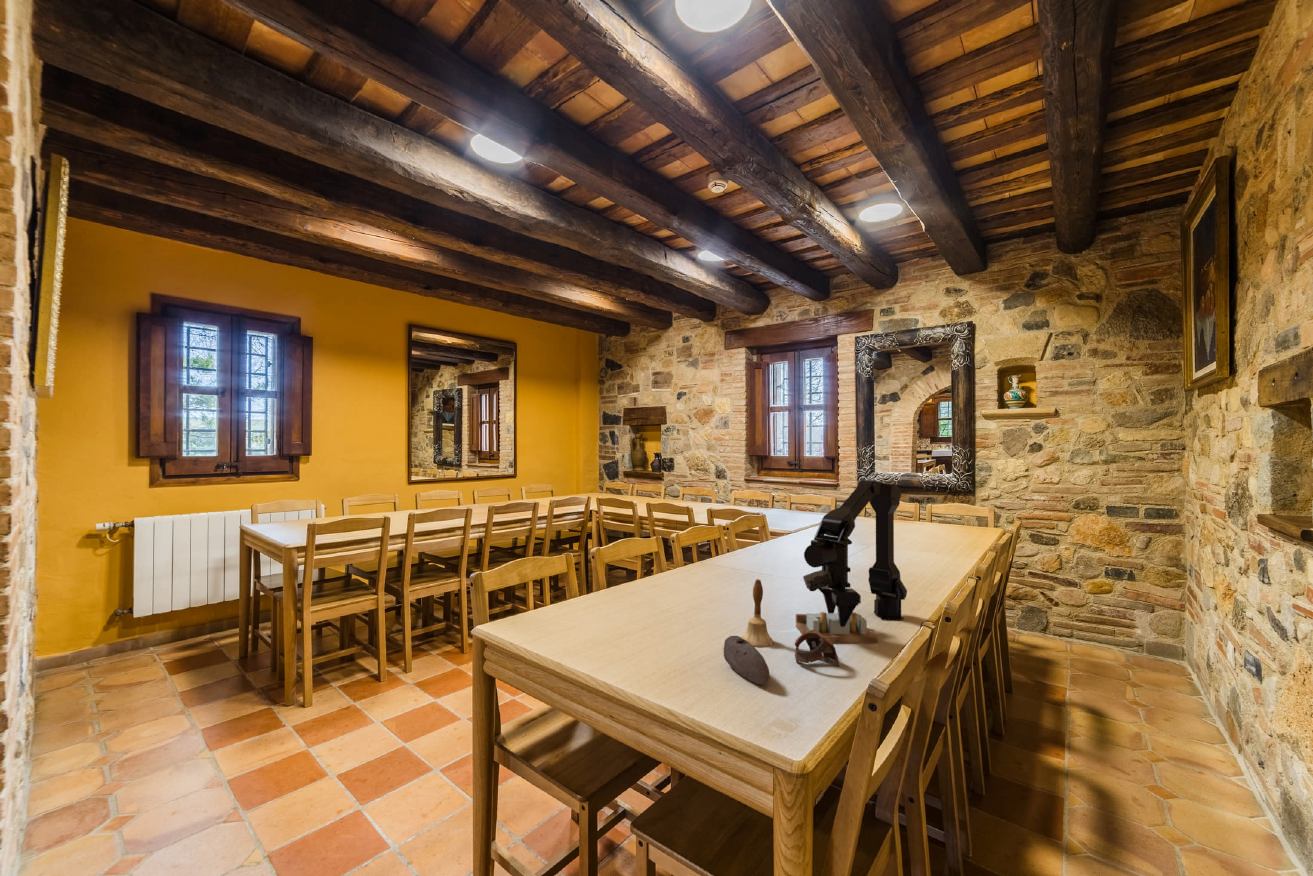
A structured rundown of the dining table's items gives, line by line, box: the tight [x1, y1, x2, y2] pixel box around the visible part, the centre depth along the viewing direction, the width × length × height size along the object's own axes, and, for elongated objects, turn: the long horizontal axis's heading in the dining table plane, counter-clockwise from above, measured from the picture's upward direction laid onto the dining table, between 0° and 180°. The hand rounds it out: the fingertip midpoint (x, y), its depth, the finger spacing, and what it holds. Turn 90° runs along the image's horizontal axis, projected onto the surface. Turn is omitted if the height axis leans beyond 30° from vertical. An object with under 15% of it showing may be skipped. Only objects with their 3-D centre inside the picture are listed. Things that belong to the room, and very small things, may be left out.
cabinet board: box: [795, 611, 879, 644], centre depth 144 cm, size 18×12×6 cm, turn 90°
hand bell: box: [740, 579, 774, 648], centre depth 139 cm, size 8×8×16 cm
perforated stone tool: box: [723, 635, 771, 686], centre depth 118 cm, size 15×5×7 cm, turn 21°
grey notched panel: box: [806, 612, 868, 634], centre depth 143 cm, size 14×6×4 cm, turn 91°
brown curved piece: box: [794, 630, 840, 668], centre depth 126 cm, size 12×10×8 cm
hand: (836, 620), depth 143 cm, fingers open, 9 cm apart
